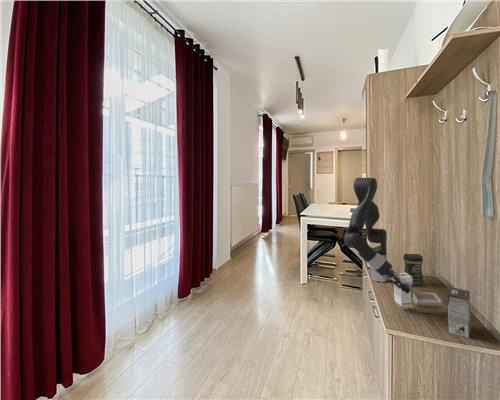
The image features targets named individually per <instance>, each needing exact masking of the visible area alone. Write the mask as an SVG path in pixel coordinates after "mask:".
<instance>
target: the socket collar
mask: <svg viewBox="0 0 500 400" xmlns="http://www.w3.org/2000/svg"><path fill="white" fill-rule="evenodd" d="M436 294H437V293H435V292H427V291H426V292H425V291H414V290H413V300H414V301H415V303H416V305H417V306H423V307H432V308H442V302H441V300H440V299H439V298H438V297H437V296H436ZM418 298H421V299H418ZM422 299H432V300H434V301H432V300H422Z"/></svg>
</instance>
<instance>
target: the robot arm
mask: <svg viewBox="0 0 500 400" xmlns="http://www.w3.org/2000/svg"><path fill="white" fill-rule="evenodd" d="M353 190H354V191H353V192H354V194H355V196H356V198H357V200H358V205H357V207H356V208H355V209H354V210H353V212H352V213H351V216H350V220H349V223H348V227H347V229H346V231H345V234H344V237H343V243H344V245H345V246H346V247H348V248H351V249H352V248H354V249H355V250H356V251H357V252H358V255H359V257H360V258H361V259H362V260H364V261H365V262H366V263H367V264H368V265H369V266H370V272H371V280H372V281H374V280H375V281H374V282H377V281H379V282H378V283H386V281H387V282H388V280H389V281H390V282H391V283H392V284H393V285H394V284H395V285H396V286H397V287H398V288H401V289H402V290H403V291H405V292H406V293H407V294H408V293H409V292H410V289H409V288H407V287H406V286H405V285H404V284H403V283H402V282H401V281H400V279H399V277H398V276H397V275H396V274H395V273H396V271H395V270H393V265H392V264H391V263H390V262H389V261H388V252H387V237H388V236H387V230H386V229H384V228H373V227H374V226H375V225H376V223H378V220H379V219H380V211H379V207H378V205H377V204H376V203H375V202H374V201H373V200H374V198H375V195H376V192H377V190H378V180H377V179H376V178H375V177H357V178H355V179H354V180H353ZM364 227H365V232H366V237H367V241H368V242H369V243H373V244H380V245H377V246H374V247H371V246H370V245H369V243H368V242H367V241H366V240H365V238H364V237H363V236H362V235H361V232H362V231H363V230H364ZM398 283H400V285H398Z"/></svg>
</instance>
